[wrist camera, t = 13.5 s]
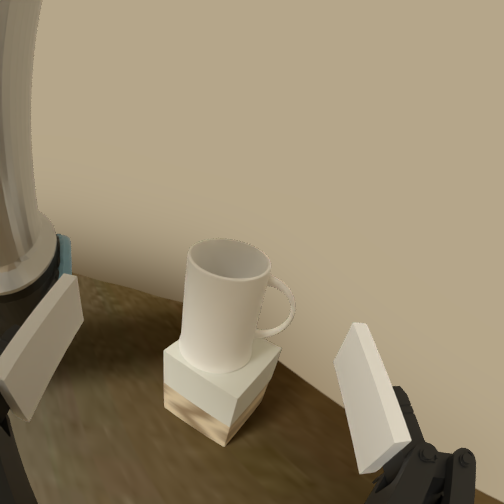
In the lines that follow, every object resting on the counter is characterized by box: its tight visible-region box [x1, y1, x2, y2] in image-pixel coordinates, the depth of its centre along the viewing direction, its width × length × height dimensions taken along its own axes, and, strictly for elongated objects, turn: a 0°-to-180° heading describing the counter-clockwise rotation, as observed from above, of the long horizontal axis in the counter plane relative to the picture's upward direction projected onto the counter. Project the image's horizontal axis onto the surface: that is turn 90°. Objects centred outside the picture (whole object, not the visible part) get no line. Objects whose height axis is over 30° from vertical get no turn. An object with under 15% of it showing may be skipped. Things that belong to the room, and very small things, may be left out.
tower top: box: [164, 338, 282, 427], centre depth 36 cm, size 10×10×6 cm
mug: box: [179, 238, 296, 374], centre depth 32 cm, size 12×8×12 cm
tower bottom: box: [164, 383, 268, 447], centre depth 39 cm, size 10×10×6 cm
